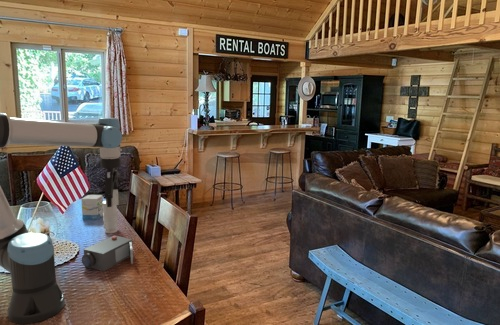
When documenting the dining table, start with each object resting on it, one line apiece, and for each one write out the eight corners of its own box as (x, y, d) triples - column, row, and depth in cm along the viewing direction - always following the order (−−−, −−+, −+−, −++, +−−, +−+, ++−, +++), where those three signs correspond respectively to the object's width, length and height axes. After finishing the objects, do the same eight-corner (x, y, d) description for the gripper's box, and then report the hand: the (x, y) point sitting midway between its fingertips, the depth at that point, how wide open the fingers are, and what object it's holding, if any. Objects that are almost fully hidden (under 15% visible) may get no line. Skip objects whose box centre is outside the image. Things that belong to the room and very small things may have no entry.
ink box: (97, 219, 197) (96, 198, 195) (82, 219, 198) (80, 198, 195) (104, 214, 206) (103, 194, 204) (89, 214, 206) (87, 194, 204)
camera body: (99, 273, 137) (98, 254, 136) (80, 268, 141) (78, 249, 140) (133, 255, 154) (132, 237, 152) (115, 250, 158) (114, 233, 157)
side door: (133, 264, 145) (133, 249, 143) (130, 264, 144) (129, 249, 143) (132, 255, 152) (131, 241, 151) (129, 255, 152) (128, 241, 151)
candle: (120, 231, 180) (118, 202, 178) (105, 234, 176) (103, 204, 174) (116, 227, 186) (115, 199, 183) (102, 230, 182) (100, 201, 179)
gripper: (116, 162, 132) (118, 218, 136) (124, 152, 156) (125, 200, 160) (94, 162, 131) (97, 219, 134) (105, 153, 155) (107, 201, 158)
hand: (112, 209), depth 147 cm, fingers open, 13 cm apart
